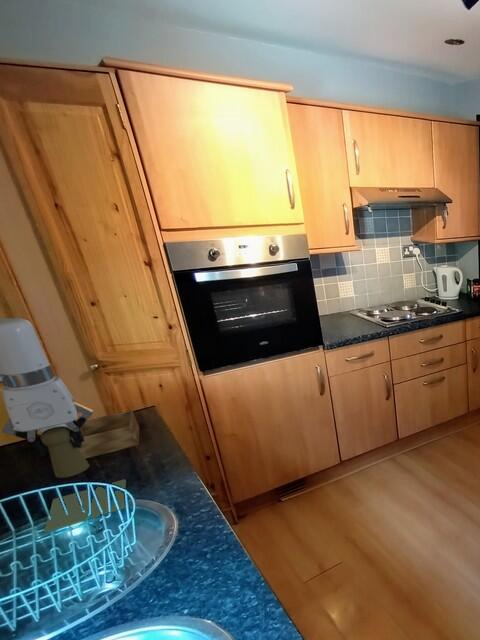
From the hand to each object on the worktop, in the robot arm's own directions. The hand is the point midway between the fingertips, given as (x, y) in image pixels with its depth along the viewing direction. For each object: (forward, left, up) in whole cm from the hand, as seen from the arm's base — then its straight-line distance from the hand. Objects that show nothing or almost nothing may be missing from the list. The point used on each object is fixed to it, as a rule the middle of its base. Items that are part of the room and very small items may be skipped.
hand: (62, 448), depth 104 cm
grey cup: (-9, +43, -16) cm, 47 cm away
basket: (+3, +34, -16) cm, 38 cm away
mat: (0, 0, -16) cm, 16 cm away
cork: (0, 0, -6) cm, 6 cm away
